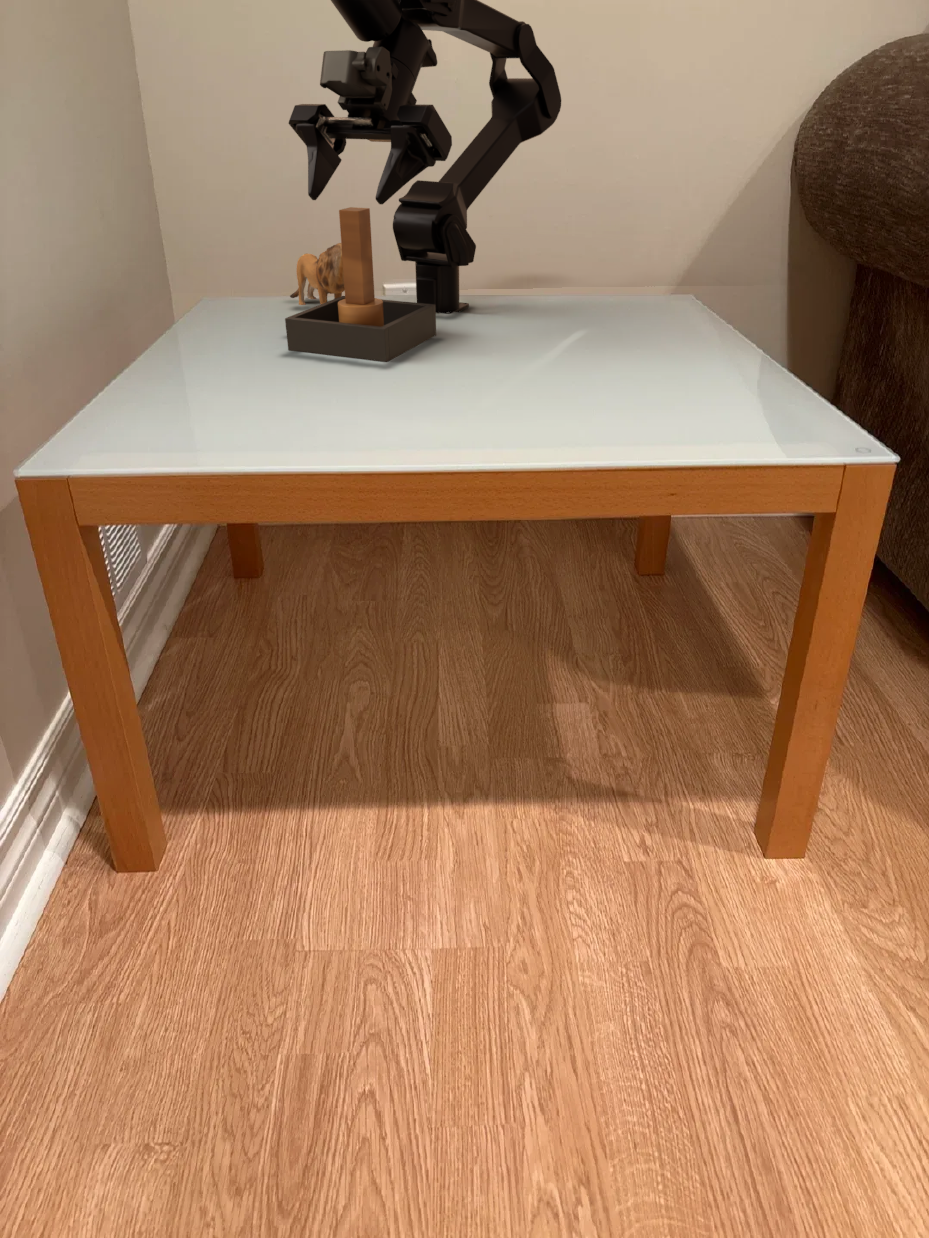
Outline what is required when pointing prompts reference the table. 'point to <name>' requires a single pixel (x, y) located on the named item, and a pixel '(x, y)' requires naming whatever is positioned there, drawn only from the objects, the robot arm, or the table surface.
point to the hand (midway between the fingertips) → (344, 200)
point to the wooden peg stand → (358, 270)
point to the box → (361, 331)
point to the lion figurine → (321, 274)
